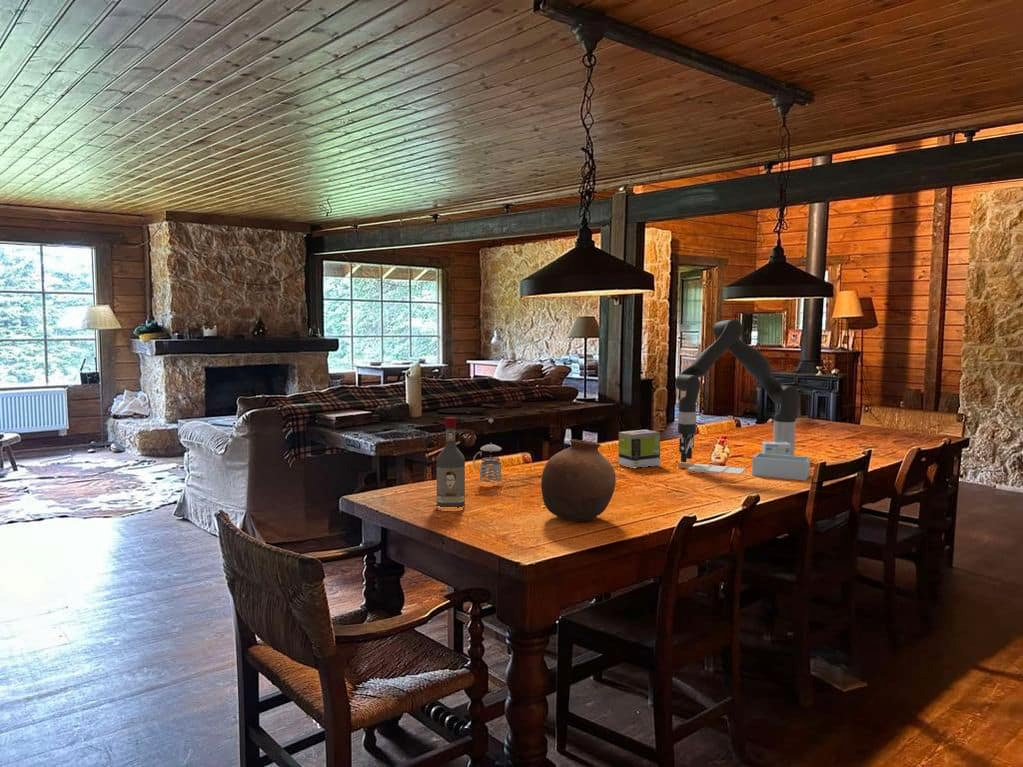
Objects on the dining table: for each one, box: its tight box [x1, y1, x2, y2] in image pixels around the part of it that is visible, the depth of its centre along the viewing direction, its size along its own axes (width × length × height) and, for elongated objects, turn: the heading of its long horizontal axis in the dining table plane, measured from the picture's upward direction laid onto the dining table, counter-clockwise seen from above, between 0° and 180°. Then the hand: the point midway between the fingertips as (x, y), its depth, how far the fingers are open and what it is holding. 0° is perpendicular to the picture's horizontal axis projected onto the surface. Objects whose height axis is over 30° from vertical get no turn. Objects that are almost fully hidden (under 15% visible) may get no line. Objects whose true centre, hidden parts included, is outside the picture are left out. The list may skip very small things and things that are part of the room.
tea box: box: [618, 429, 661, 469], centre depth 317 cm, size 15×10×15 cm, turn 115°
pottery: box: [540, 438, 617, 522], centre depth 231 cm, size 23×23×25 cm
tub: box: [751, 452, 811, 481], centre depth 295 cm, size 11×20×8 cm, turn 62°
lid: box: [677, 460, 747, 475], centre depth 308 cm, size 12×26×2 cm, turn 61°
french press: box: [472, 418, 502, 483], centre depth 280 cm, size 10×12×25 cm
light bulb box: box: [761, 441, 791, 456], centre depth 314 cm, size 11×7×11 cm, turn 84°
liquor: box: [436, 416, 466, 508], centre depth 244 cm, size 9×9×30 cm
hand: (686, 460), depth 313 cm, fingers open, 8 cm apart
